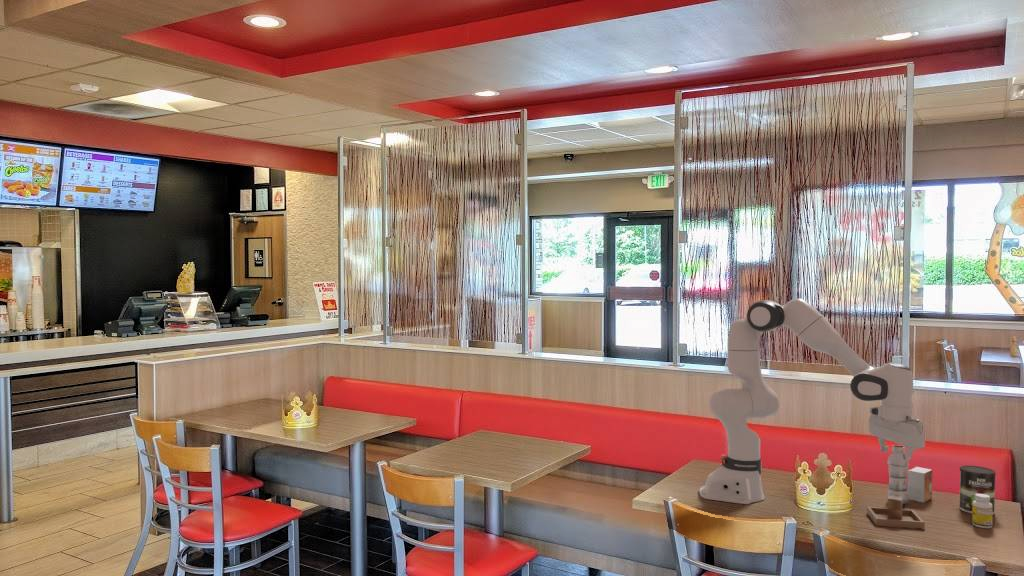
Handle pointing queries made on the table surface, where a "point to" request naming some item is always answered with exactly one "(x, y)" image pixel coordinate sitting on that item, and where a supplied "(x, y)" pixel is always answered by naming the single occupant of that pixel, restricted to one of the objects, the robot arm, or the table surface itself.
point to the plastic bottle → (898, 474)
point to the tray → (908, 519)
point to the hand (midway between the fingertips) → (895, 455)
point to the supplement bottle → (982, 511)
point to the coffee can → (975, 486)
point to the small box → (920, 484)
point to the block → (894, 507)
